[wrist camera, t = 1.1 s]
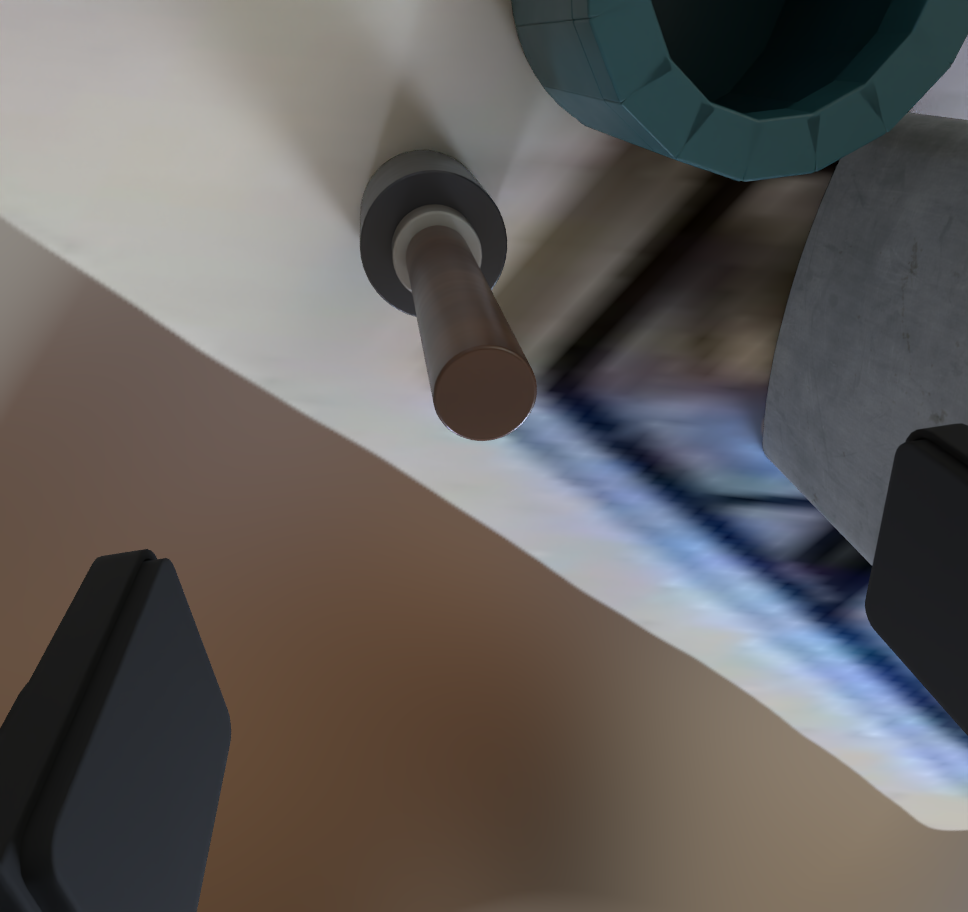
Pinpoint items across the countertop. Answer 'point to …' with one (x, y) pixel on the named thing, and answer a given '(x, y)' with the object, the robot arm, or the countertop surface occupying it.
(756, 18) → the jar
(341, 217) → the countertop surface
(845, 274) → the hip flask
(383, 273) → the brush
